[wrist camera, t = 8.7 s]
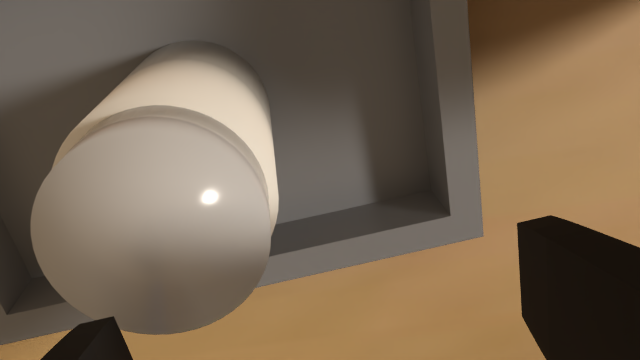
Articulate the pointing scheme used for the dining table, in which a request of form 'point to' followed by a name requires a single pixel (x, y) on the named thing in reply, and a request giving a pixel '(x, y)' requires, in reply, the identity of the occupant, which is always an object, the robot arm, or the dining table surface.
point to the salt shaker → (163, 195)
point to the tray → (286, 120)
